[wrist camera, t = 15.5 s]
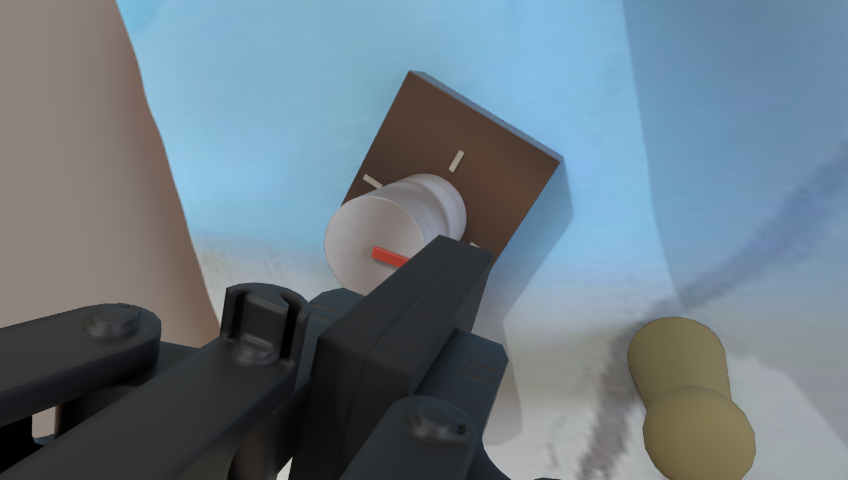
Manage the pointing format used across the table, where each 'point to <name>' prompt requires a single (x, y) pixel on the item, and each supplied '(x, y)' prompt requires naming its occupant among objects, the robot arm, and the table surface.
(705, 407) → the olive pawn figure
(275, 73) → the table surface
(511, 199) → the control panel
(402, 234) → the knob
